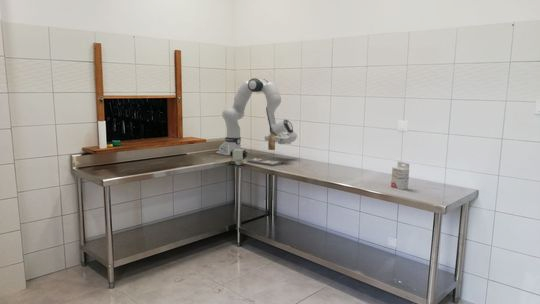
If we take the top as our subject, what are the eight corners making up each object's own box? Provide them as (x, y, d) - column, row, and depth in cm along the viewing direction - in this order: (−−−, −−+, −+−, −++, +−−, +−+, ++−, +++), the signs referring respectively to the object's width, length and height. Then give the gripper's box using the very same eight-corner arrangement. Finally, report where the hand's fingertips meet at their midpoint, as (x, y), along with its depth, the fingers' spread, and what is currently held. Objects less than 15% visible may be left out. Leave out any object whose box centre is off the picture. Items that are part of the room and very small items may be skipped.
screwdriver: (266, 149, 300) (267, 127, 298) (270, 148, 304) (271, 127, 302) (272, 150, 297) (272, 128, 295) (276, 149, 301) (276, 127, 299)
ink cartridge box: (390, 186, 239) (392, 162, 236) (395, 185, 242) (397, 161, 239) (402, 190, 232) (404, 164, 230) (408, 188, 235) (410, 163, 232)
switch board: (247, 162, 308) (247, 159, 307) (257, 159, 318) (257, 157, 318) (272, 166, 294) (272, 163, 293) (283, 163, 304) (283, 161, 304)
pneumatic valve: (245, 165, 293) (245, 149, 291) (230, 164, 296) (230, 148, 295) (247, 164, 298) (247, 148, 297) (232, 163, 302) (232, 147, 300)
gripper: (271, 133, 315) (259, 134, 304) (293, 135, 303) (282, 137, 292) (270, 141, 316) (259, 143, 305) (292, 143, 304) (282, 145, 293)
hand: (271, 140), depth 299 cm, fingers closed on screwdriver, 5 cm apart
